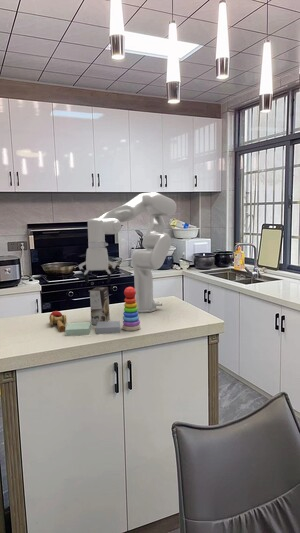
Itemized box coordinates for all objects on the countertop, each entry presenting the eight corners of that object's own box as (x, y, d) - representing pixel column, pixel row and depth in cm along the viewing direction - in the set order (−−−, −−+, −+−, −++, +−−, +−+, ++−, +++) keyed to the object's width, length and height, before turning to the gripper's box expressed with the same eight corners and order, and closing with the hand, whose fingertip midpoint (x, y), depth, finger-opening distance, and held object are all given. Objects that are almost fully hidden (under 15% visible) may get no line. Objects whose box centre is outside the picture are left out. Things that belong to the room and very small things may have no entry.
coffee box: (104, 325, 172) (102, 290, 170) (90, 324, 173) (89, 290, 171) (110, 319, 181) (108, 286, 178) (97, 319, 182) (95, 286, 180)
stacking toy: (120, 327, 167) (118, 286, 165) (136, 325, 170) (135, 284, 168) (125, 332, 160) (124, 289, 158) (143, 329, 163) (141, 287, 161)
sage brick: (91, 328, 169) (90, 322, 168) (89, 335, 159) (89, 328, 158) (68, 329, 168) (68, 323, 168) (65, 336, 158) (65, 329, 158)
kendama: (73, 332, 166) (64, 318, 182) (70, 320, 164) (61, 306, 180) (55, 338, 164) (48, 322, 179) (52, 325, 162) (45, 311, 177)
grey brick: (120, 326, 170) (119, 320, 169) (120, 333, 160) (119, 326, 159) (97, 328, 169) (97, 321, 169) (96, 335, 159) (96, 328, 159)
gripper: (115, 244, 176) (116, 280, 178) (78, 245, 175) (79, 281, 177) (115, 245, 169) (116, 283, 171) (76, 246, 167) (78, 284, 170)
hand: (97, 282), depth 174 cm, fingers open, 9 cm apart
